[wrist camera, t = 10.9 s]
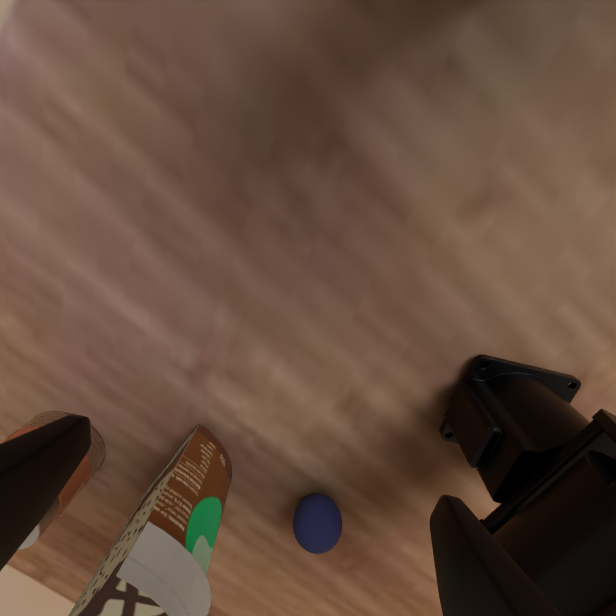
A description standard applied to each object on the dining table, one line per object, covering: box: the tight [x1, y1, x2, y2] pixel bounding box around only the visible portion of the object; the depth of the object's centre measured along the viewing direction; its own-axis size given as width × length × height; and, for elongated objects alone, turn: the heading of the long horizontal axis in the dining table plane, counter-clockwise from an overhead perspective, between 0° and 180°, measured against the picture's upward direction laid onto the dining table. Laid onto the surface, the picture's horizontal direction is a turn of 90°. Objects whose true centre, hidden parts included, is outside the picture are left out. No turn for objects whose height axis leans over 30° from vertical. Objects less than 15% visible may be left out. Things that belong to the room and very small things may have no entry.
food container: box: [69, 424, 232, 616], centre depth 20 cm, size 12×6×10 cm, turn 144°
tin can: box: [0, 411, 105, 550], centre depth 22 cm, size 6×6×6 cm
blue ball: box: [293, 494, 342, 554], centre depth 23 cm, size 4×4×4 cm
